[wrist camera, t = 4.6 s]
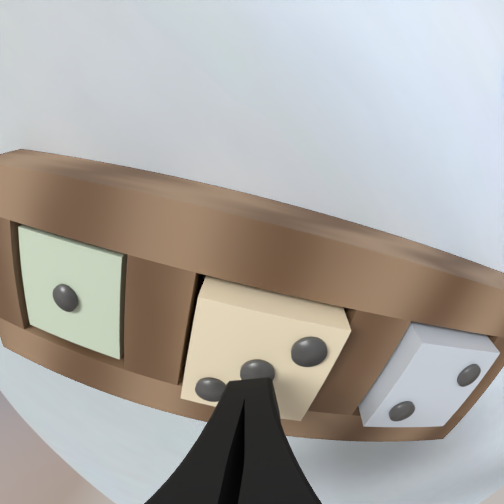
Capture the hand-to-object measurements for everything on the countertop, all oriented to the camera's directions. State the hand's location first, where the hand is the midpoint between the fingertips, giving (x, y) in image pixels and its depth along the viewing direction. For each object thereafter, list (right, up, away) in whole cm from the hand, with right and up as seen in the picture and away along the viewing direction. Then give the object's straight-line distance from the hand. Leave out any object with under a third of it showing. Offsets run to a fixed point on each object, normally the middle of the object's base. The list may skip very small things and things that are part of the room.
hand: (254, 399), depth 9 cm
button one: (-8, +4, +4) cm, 10 cm away
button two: (+8, 0, +4) cm, 9 cm away
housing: (0, +2, +5) cm, 5 cm away
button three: (0, +2, +4) cm, 4 cm away
